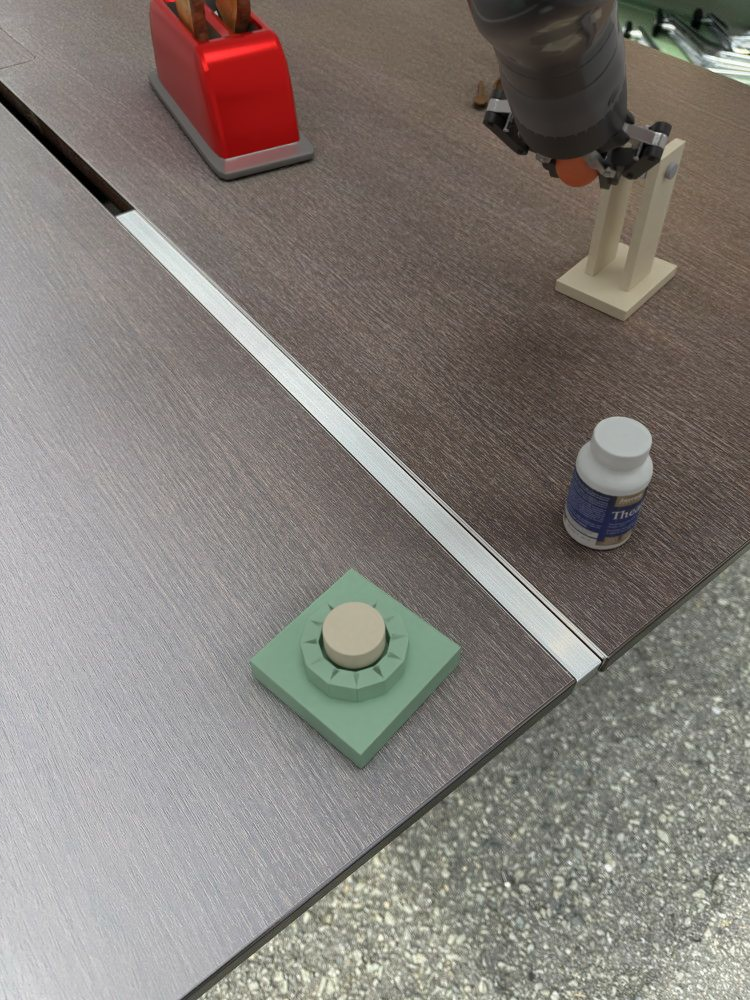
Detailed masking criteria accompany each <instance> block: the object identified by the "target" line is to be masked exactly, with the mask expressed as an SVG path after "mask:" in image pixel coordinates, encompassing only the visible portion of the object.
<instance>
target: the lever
mask: <svg viewBox="0 0 750 1000" xmlns="http://www.w3.org/2000/svg"><path fill="white" fill-rule="evenodd" d="M556 172H557V174H558V176H559V179H560V181H561V183H563V184H565V185H566V186H568V187H570V188H583V187H586V186H588V185H590V184H591V183H592V182H593V181H595V180H596V179H597V177H598V170H597V169H590V168H589V167H588V166H587V165H586V163H585V162H584V160H583V159H582V158H581V157H579V158H575V159H568V160H559V159H556ZM647 172H648V171H647ZM647 172H646V173H644V174H643V175H642V176H640V177H639V178H640V179H641V180H642V179H645V180H646V176H647Z"/></svg>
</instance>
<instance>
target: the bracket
mask: <svg viewBox="0 0 750 1000" xmlns="http://www.w3.org/2000/svg"><path fill="white" fill-rule="evenodd" d="M637 125H638V124H637ZM638 126H641V125H638ZM641 127H643V126H641ZM686 142H687V141H686V140H683V139H681V138H678V137H675V138H674V139H673V140H671V141H670V142H668V143H666V146H665V149H664V151H663V154H662V157H661V160H660V162H659V163H658V164H656V165H655V166H654V167H652V168H651V169H650V170H648V172H647V176H646V178H645V180H644V185H643V188H642V192H641V197H640V201H639V205H638V210H637V214H636V218H635V221H634V226H633V230H632V234H631V238H630V241H629V245H628V244H625V243H623V242H620V240H621V236H622V231H623V228H624V223H625V219H626V215H627V210H628V206H629V201H630V197H631V192H632V189H633V183H634V180H629V179H626V178H625V177H623V176H622V175H621V177H620V180H619V183H618V185H616V186H615V185H611V186H610V189H609V190H606V189H602V188H601V191H600V196H599V199H598V204H597V210H596V215H595V219H594V225H593V230H592V235H591V241H590V245H589V248H588V249H589V250H588V254H587V255H586V256H585V257H583V258H582V259H580V261H578V262H577V263H575V265H573V266H572V267H570V269H569V270H567V271H566V272H565V273H564V274H562V275H561V276H560V277H558V278H557V279H556V280H555V288H554V291H556V292H558V293H561V294H562V295H565V296H567V297H568V298H571V299H574V300H575V301H577V302H579V303H581V304H584V305H585V306H586V305H587V306H588V307H591V308H593V309H595V310H597V311H600V312H602V313H604V314H606V315H608V316H611V317H613V318H615V319H617V320H619V321H621V322H624V323H625V322H626V320H628V319H629V318H630V317H631V316H632V315H633V314H635V312H636V311H637V310H639V309H640V308H641V307H642V306H643V305H644V304H645V303H646V302H647V301H649V300H650V299H651V298H652V297H653V296H654V295H655V294H656V293H657V292H658V291H659V290H661V289H662V288H663V287H664V286H665V285H666V284H667V283H669V282H670V281H671V280H672V279H673V278H674V277H675V276H676V272H677V270H678V265H676V264H674V263H672V262H669V261H666V260H664V259H662V258H659V257H657V256H656V253H657V249H658V246H659V242H660V239H661V235H662V231H663V228H664V224H665V220H666V216H667V212H668V209H669V206H670V202H671V198H672V194H673V190H674V187H675V183H676V180H677V175H678V172H679V168H680V166H681V165H680V164H681V161H682V157H683V154H684V150H685V146H686ZM631 146H632V144H631V143H629V142H627V143H626V144H625V147H627V148H631Z"/></svg>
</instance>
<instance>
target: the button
mask: <svg viewBox="0 0 750 1000" xmlns="http://www.w3.org/2000/svg"><path fill="white" fill-rule="evenodd" d="M322 632H323V641H324V648H325V651H326V653H327V655H328V657H329V658H330V659H331V660H332V661H333V662H334V663H336V664H337V665H339V666H342V667H344V668H349V669H358V668H363V667H366V666H369V665H371V664H372V663H374V662H375V661H376V660H377V659H378V658H379V657H380V656H381V654H382V653H383V651H384V648H385V623H384V620H383V618H382V616H381V614H380V613H379V612H378V611H377V610H376V609H375V608H373V607H372V606H370V605H368V604H365V603H361V602H348V603H344V604H341V605H339V606H337V607H335V608H334V609H333V610H332V611H331V612H330V613H329V614H328V615H327V616H326V618H325V620H324V623H323V627H322Z"/></svg>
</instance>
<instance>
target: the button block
mask: <svg viewBox="0 0 750 1000" xmlns="http://www.w3.org/2000/svg"><path fill="white" fill-rule="evenodd" d="M348 602H361V603H365V604H368V605H370V606H372V607H373V608H375V609H376V610H377V611H378V612H379V613H380V614H381V616H382V618H383V620H384V623H385V648H384V651H383V653H382V654H381V656H380V657H379V658H378V659H377V660H376V661H375V662H374V663H372V664H371V665H369V666H366V667H363V668H358V669H349V668H344V667H342V666H339V665H337V664H336V663H334V662H333V661H332V660H331V659H330V658H329V657H328V655H327V653H326V651H325V648H324V641H323V632H322V627H323V623H324V620H325V618H326V616H327V615H328V614H329V613H330V612H331V611H332V610H333V609H334V608H335V607H337V606H339V605H341V604H344V603H348ZM461 651H462V646H460V645H458V643H456V642H454V641H453V640H452V639H450V638H449V637H448V636H446V635H445V634H444V633H442V632H441V631H440V630H438V629H436V628H435V627H434V626H432V625H431V624H430V623H428V622H427V621H426V620H424V619H423V618H422V617H420V616H419V615H417V614H416V613H414V611H412V610H410V609H409V608H408V607H407V606H404V605H403V604H402V603H401V602H400V601H398V600H396V599H395V598H394V597H392V596H391V594H388V593H387V592H386V591H384V590H383V589H381V588H380V587H379V586H377V585H376V584H374V583H373V582H372V581H371V580H369V579H368V578H367V577H365V576H363V575H362V574H360V573H359V572H358V571H356V570H355V569H354V568H352V567H350V568H349V569H348V570H347V571H346V572H344V574H343V575H342V576H341V577H339V578H338V579H337V580H336V581H335V582H334V583H333V584H332V585H330V586H329V587H328V588H327V589H326V590H325V591H324V592H323V593H322V594H321V595H319V596H318V597H317V598H316V599H315V600H314V601H313V602H312V603H311V604H310V605H308V606H307V607H306V608H305V609H303V611H302V612H301V613H299V614H298V615H297V616H296V617H295V618H294V619H293V620H291V621H290V623H288V624H287V625H286V626H285V627H284V628H283V629H282V630H281V631H280V632H278V633H277V634H276V635H275V636H274V637H273V638H272V639H270V641H268V642H267V643H266V644H265V645H264V646H263V647H262V648H261V649H260V650H259V651H258V652H256V653H255V654H254V655H253V656H252V657H251V658H250V659H249V660H248V662H249V665H250V668H251V669H250V670H251V673H252V676H253V678H255V679H256V680H257V681H258V682H259V683H260V684H262V685H263V686H264V687H265V688H266V689H267V690H268V691H270V692H271V694H273V695H274V696H275V697H276V698H277V699H279V700H280V701H281V702H282V703H284V704H285V705H286V706H287V707H288V708H289V709H291V710H292V711H293V712H294V713H295V714H296V715H297V716H299V717H300V718H301V719H302V720H303V721H304V722H306V723H307V724H308V725H309V726H310V727H311V728H313V729H314V730H315V731H316V732H317V733H318V734H320V735H321V736H322V737H323V738H324V739H325V740H326V741H328V742H329V743H330V744H331V745H332V746H334V747H335V748H336V749H337V750H338V751H339V752H341V754H343V755H344V756H345V757H346V758H347V759H349V760H350V761H351V762H352V763H353V764H355V765H356V766H357V767H358V768H359V769H361V770H363V769H364V768H365V767H366V765H367V764H369V762H370V761H371V760H372V759H373V758H374V757H375V756H376V755H377V754H378V753H379V751H380V750H381V749H382V748H383V747H384V746H385V745H386V744H387V742H389V741H390V739H391V738H392V737H393V736H394V735H395V734H396V733H397V732H398V731H399V729H401V728H402V727H403V726H404V725H405V724H406V722H408V720H409V719H410V718H411V717H412V716H413V714H414V713H415V712H416V711H417V710H418V709H419V708H420V707H421V706H422V705H423V704H424V703H425V702H426V700H428V698H430V696H431V695H432V694H433V693H434V692H435V691H436V690H437V689H438V687H440V685H441V684H442V683H443V682H444V681H445V680H446V679H447V678H448V677H449V676H450V675H451V673H453V671H454V670H455V669H456V668H457V667H458V666H459V665H460V659H461V654H462V653H461Z"/></svg>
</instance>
